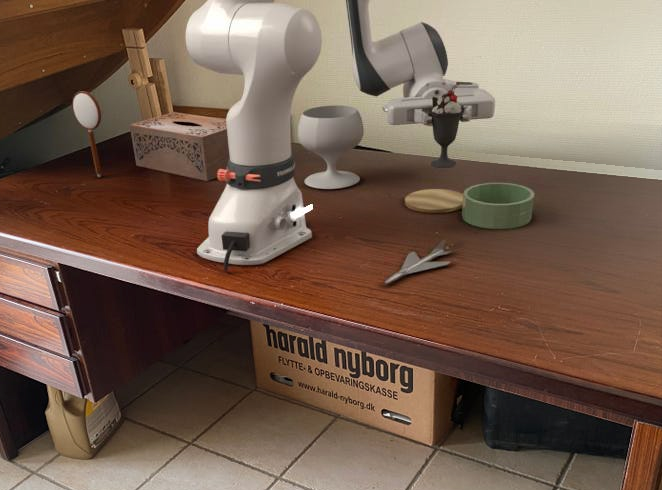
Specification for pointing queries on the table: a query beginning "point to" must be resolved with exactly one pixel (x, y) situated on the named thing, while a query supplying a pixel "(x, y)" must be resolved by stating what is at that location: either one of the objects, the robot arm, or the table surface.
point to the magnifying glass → (88, 119)
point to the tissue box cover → (182, 145)
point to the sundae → (445, 124)
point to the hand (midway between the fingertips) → (447, 118)
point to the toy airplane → (420, 263)
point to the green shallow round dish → (497, 205)
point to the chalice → (331, 141)
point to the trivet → (434, 201)
